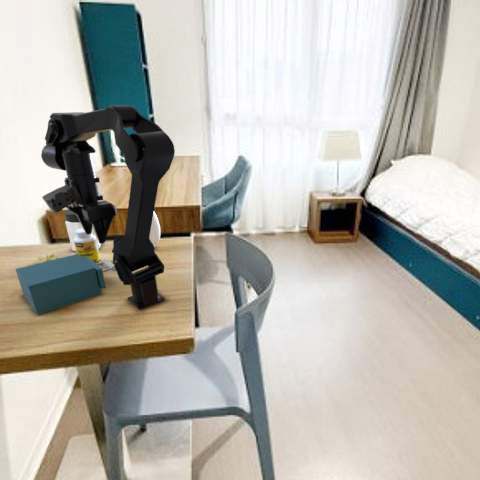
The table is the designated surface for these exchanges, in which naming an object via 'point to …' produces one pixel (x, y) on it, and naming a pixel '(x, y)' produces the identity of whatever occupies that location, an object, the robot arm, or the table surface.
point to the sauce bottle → (155, 230)
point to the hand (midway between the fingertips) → (95, 238)
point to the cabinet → (58, 283)
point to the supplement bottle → (86, 245)
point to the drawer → (100, 270)
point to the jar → (75, 227)
